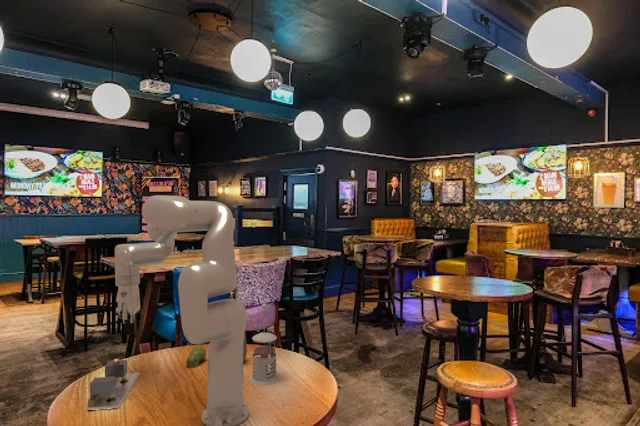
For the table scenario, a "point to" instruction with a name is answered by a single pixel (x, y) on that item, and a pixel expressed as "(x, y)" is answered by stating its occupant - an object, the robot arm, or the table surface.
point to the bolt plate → (118, 392)
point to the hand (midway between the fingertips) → (129, 334)
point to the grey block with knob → (116, 369)
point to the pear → (196, 356)
